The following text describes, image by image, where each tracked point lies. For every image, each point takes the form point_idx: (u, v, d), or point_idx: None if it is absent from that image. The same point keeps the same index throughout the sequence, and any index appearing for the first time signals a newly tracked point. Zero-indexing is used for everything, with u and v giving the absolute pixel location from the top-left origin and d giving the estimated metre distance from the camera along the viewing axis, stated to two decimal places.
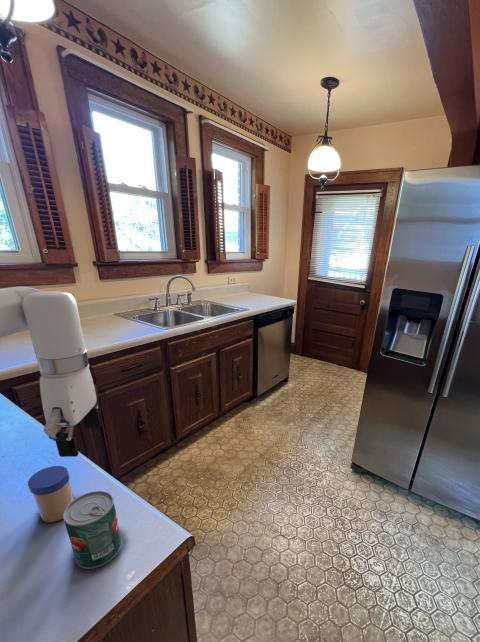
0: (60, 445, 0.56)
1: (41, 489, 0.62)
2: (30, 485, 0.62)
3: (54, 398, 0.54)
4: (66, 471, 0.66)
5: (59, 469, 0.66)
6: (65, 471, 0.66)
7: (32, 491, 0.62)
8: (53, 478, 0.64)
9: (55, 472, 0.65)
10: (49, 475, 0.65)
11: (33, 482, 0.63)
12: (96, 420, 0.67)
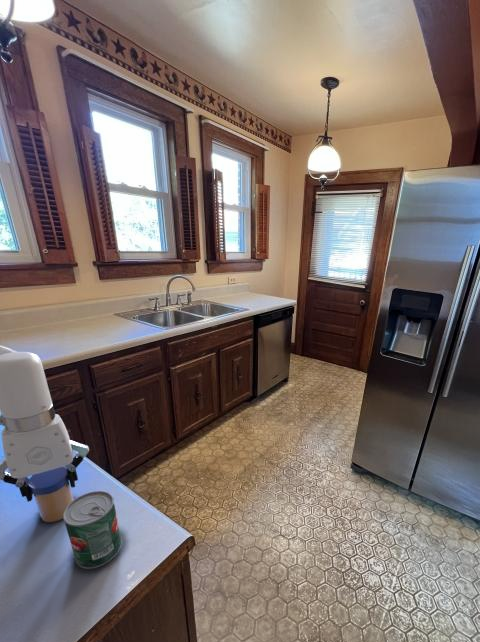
0: (75, 471, 0.67)
1: (41, 489, 0.62)
2: (30, 485, 0.62)
3: None
4: (66, 471, 0.66)
5: (59, 469, 0.66)
6: (65, 471, 0.66)
7: (32, 491, 0.62)
8: (53, 478, 0.64)
9: (55, 472, 0.65)
10: (49, 475, 0.65)
11: (33, 482, 0.63)
12: None
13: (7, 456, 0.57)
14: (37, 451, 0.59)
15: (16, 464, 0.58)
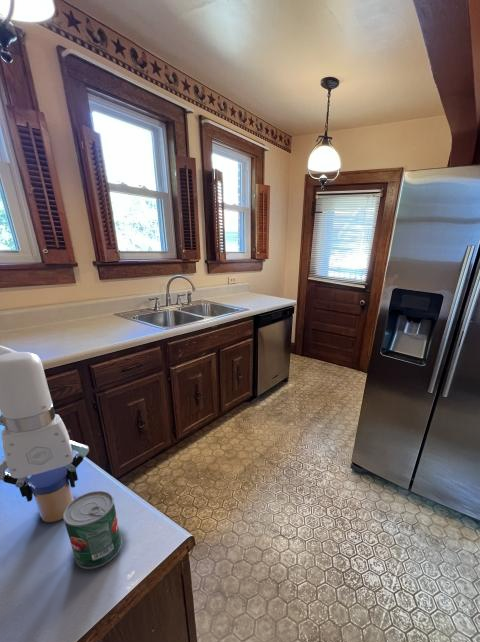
0: (75, 472, 0.67)
1: (66, 475, 0.65)
2: (54, 483, 0.63)
3: None
4: None
5: None
6: None
7: (60, 485, 0.63)
8: (55, 471, 0.65)
9: (44, 473, 0.65)
10: (46, 476, 0.64)
11: (50, 482, 0.63)
12: None
13: (7, 456, 0.57)
14: (37, 451, 0.59)
15: (16, 464, 0.58)
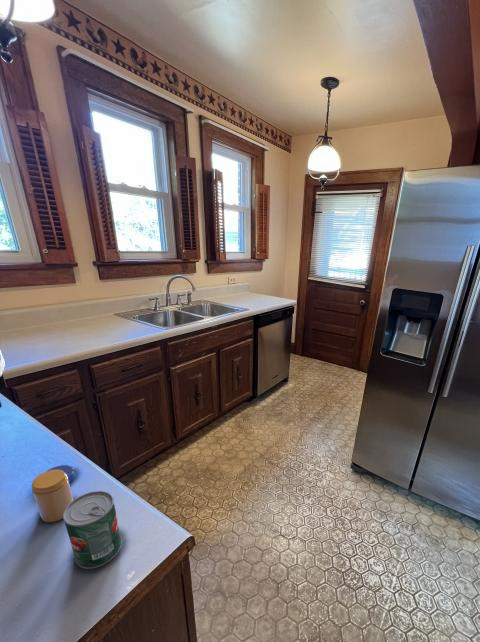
0: None
1: None
2: None
3: None
4: (72, 470, 0.77)
5: (67, 468, 0.77)
6: (71, 470, 0.77)
7: None
8: None
9: None
10: None
11: None
12: None
13: None
14: None
15: None
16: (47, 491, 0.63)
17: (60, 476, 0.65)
